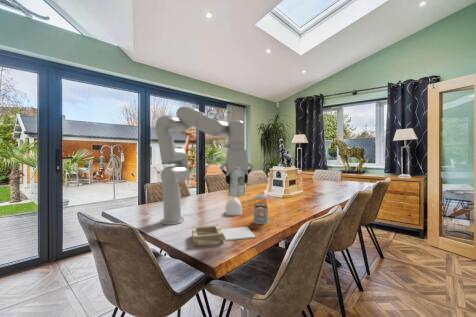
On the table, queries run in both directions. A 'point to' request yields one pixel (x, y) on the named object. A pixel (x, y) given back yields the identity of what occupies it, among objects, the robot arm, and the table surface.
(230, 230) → the mat
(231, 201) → the teardrop
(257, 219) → the grey lantern
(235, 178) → the syrup box
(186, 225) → the table surface
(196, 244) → the holder
